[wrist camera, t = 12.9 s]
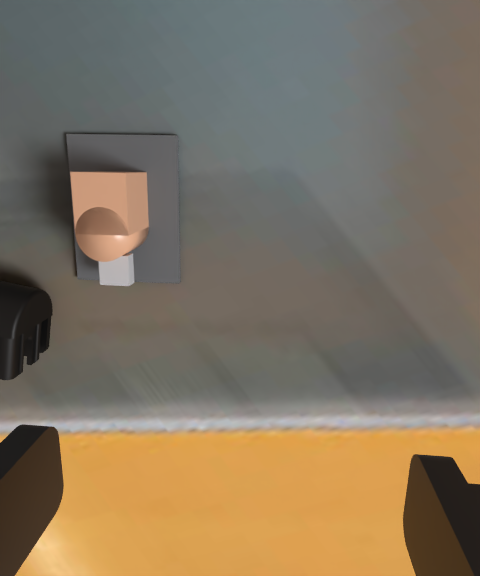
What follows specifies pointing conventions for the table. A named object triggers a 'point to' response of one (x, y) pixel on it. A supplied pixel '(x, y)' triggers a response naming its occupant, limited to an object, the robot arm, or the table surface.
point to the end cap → (22, 327)
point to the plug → (110, 220)
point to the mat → (161, 197)
